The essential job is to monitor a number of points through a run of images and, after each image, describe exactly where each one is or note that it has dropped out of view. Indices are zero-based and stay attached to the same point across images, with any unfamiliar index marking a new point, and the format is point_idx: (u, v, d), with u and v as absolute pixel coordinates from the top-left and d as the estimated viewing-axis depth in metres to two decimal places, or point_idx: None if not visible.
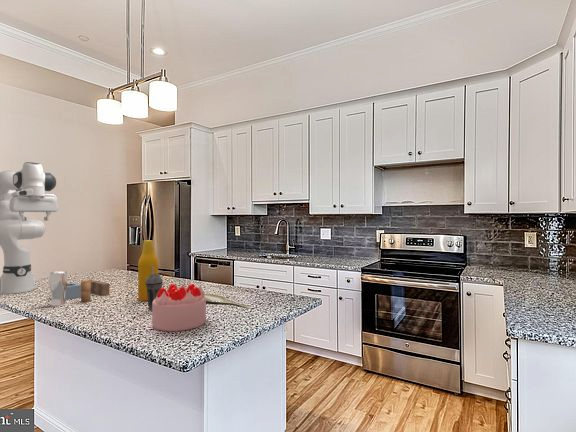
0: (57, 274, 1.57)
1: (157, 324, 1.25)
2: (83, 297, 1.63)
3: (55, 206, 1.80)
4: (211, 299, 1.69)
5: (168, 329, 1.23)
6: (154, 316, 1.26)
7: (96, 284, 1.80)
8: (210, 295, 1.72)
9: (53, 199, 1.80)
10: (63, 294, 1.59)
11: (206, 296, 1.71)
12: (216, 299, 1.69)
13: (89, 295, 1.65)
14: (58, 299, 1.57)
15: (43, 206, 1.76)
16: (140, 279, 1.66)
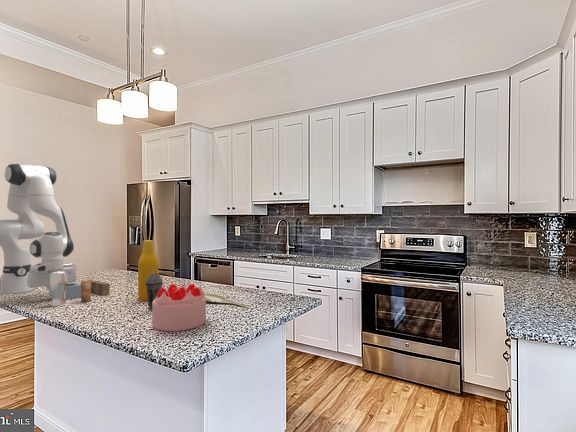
0: (57, 274, 1.57)
1: (157, 324, 1.25)
2: (83, 297, 1.63)
3: (73, 276, 1.74)
4: (211, 299, 1.69)
5: (168, 329, 1.23)
6: (154, 316, 1.26)
7: (96, 284, 1.80)
8: (210, 295, 1.72)
9: (72, 269, 1.73)
10: (63, 294, 1.59)
11: (206, 296, 1.71)
12: (216, 299, 1.69)
13: (89, 295, 1.65)
14: (58, 299, 1.57)
15: None
16: (140, 279, 1.66)
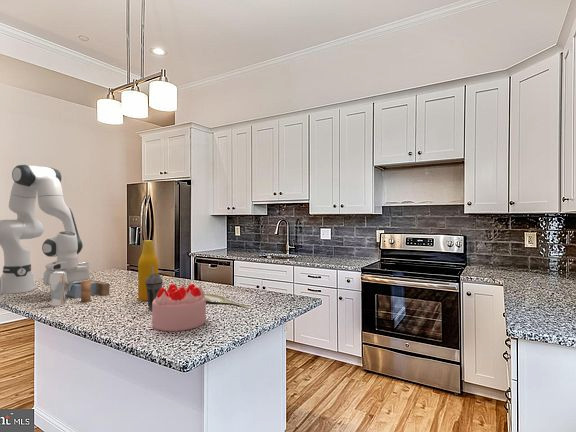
0: (57, 274, 1.57)
1: (157, 324, 1.25)
2: (83, 297, 1.63)
3: (86, 274, 1.79)
4: (211, 299, 1.69)
5: (168, 329, 1.23)
6: (154, 316, 1.26)
7: None
8: (210, 295, 1.72)
9: (85, 268, 1.78)
10: (63, 294, 1.59)
11: (206, 296, 1.71)
12: (216, 299, 1.69)
13: (89, 295, 1.65)
14: (58, 299, 1.57)
15: (75, 276, 1.75)
16: (140, 279, 1.66)
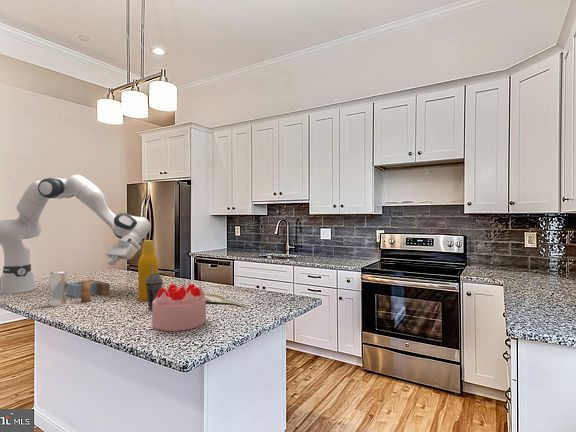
0: (57, 274, 1.57)
1: (157, 324, 1.25)
2: (83, 297, 1.63)
3: None
4: (210, 299, 1.69)
5: (168, 329, 1.23)
6: (154, 316, 1.26)
7: None
8: (209, 295, 1.72)
9: None
10: (63, 294, 1.59)
11: (205, 296, 1.71)
12: (215, 299, 1.69)
13: (89, 295, 1.65)
14: (58, 299, 1.57)
15: None
16: (140, 279, 1.66)
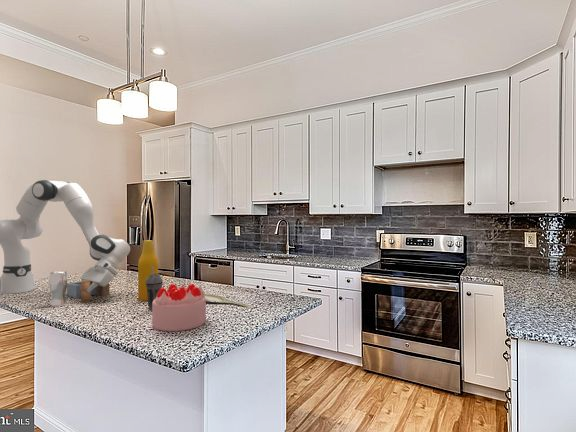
0: (57, 274, 1.57)
1: (157, 324, 1.25)
2: (83, 297, 1.63)
3: None
4: (209, 299, 1.68)
5: (168, 329, 1.23)
6: (154, 316, 1.26)
7: None
8: (207, 295, 1.72)
9: None
10: (63, 294, 1.59)
11: None
12: (214, 299, 1.69)
13: (89, 295, 1.65)
14: (58, 299, 1.57)
15: None
16: (140, 279, 1.66)
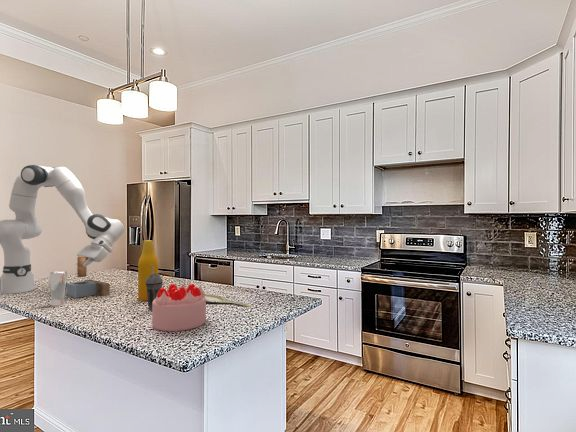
0: (57, 274, 1.57)
1: (157, 324, 1.25)
2: (79, 272, 1.73)
3: None
4: (208, 299, 1.68)
5: (168, 329, 1.23)
6: (154, 316, 1.26)
7: None
8: (206, 295, 1.72)
9: None
10: (63, 294, 1.59)
11: None
12: (213, 299, 1.69)
13: (85, 270, 1.74)
14: (58, 299, 1.57)
15: None
16: (140, 279, 1.66)
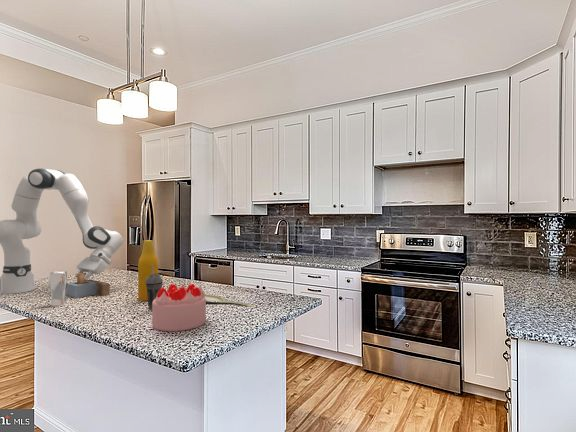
0: (57, 274, 1.57)
1: (157, 324, 1.25)
2: None
3: None
4: (207, 299, 1.68)
5: (168, 329, 1.23)
6: (154, 316, 1.26)
7: None
8: (205, 295, 1.71)
9: None
10: (63, 294, 1.59)
11: None
12: (212, 299, 1.68)
13: None
14: (58, 299, 1.57)
15: None
16: (140, 279, 1.66)
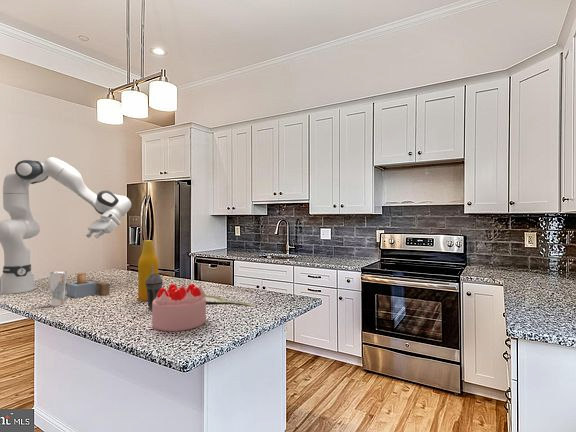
0: (57, 274, 1.57)
1: (157, 324, 1.25)
2: None
3: None
4: (206, 300, 1.67)
5: (168, 329, 1.23)
6: (154, 316, 1.26)
7: None
8: None
9: None
10: (63, 294, 1.59)
11: None
12: (211, 299, 1.68)
13: None
14: (58, 299, 1.57)
15: None
16: (140, 279, 1.66)
